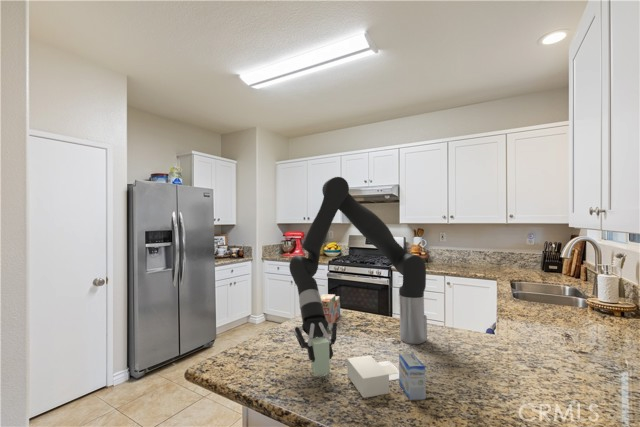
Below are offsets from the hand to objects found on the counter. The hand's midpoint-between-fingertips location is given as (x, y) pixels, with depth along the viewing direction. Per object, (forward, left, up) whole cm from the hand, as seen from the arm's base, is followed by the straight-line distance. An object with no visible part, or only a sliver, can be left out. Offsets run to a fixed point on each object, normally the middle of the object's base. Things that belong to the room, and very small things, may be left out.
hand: (321, 359), depth 86 cm
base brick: (-12, +5, -6) cm, 14 cm away
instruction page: (-20, 0, -6) cm, 21 cm away
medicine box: (-22, +12, -6) cm, 26 cm away
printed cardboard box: (-17, -50, -6) cm, 53 cm away
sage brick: (0, -2, -4) cm, 5 cm away
